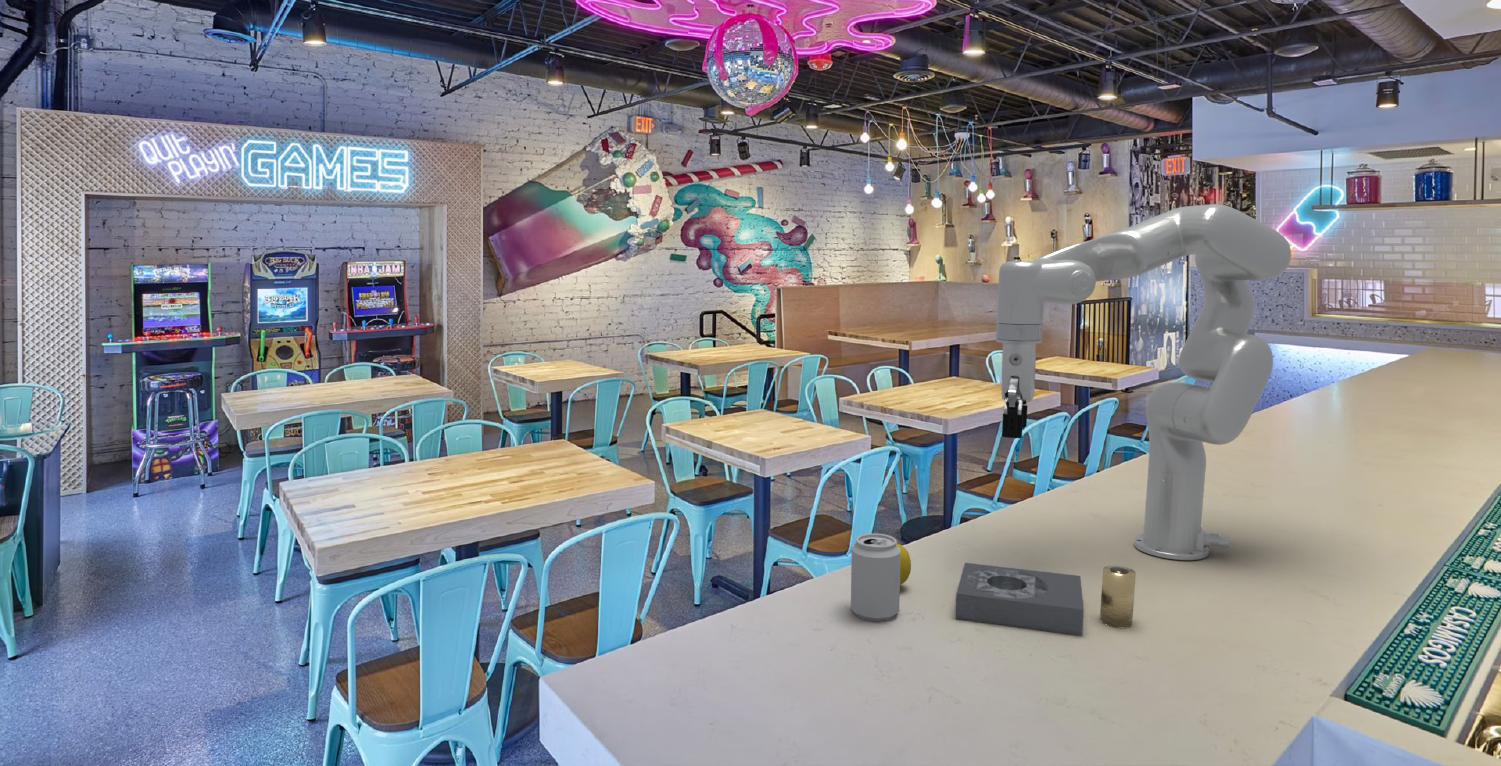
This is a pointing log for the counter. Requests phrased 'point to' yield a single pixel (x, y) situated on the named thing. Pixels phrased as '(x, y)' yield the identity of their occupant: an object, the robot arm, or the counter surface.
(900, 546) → the lemon
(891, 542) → the can
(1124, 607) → the cylinder
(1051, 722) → the counter surface
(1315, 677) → the counter surface
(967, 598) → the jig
